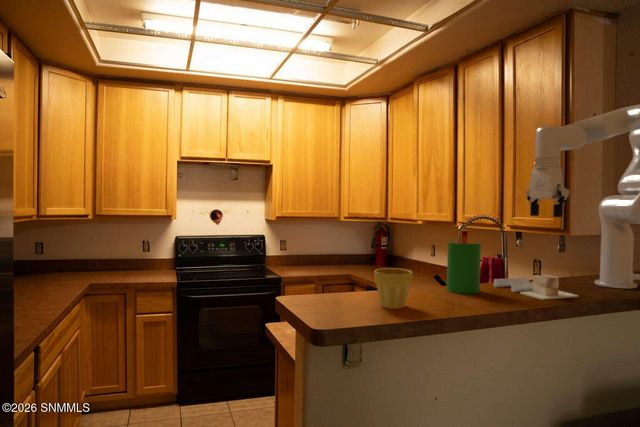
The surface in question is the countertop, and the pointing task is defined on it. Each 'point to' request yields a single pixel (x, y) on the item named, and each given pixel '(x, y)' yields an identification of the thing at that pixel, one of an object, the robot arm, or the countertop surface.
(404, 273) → the plant pot
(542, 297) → the pad
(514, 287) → the housing channel
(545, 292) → the plug block
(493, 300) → the countertop surface
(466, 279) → the green cylinder
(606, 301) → the countertop surface
